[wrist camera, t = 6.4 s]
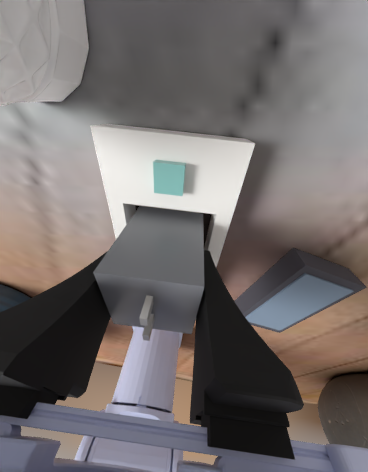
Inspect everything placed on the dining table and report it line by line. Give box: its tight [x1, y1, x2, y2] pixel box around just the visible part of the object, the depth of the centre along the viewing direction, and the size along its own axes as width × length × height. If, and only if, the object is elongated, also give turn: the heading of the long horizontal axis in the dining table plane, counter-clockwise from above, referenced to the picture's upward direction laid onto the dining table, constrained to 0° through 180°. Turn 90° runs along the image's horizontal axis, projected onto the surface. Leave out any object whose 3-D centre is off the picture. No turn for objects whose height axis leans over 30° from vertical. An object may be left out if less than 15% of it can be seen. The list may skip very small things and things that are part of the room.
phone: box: [234, 248, 366, 333], centre depth 16 cm, size 10×6×2 cm, turn 160°
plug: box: [93, 206, 204, 341], centre depth 10 cm, size 4×4×7 cm
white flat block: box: [90, 124, 255, 267], centre depth 13 cm, size 18×8×3 cm, turn 175°
